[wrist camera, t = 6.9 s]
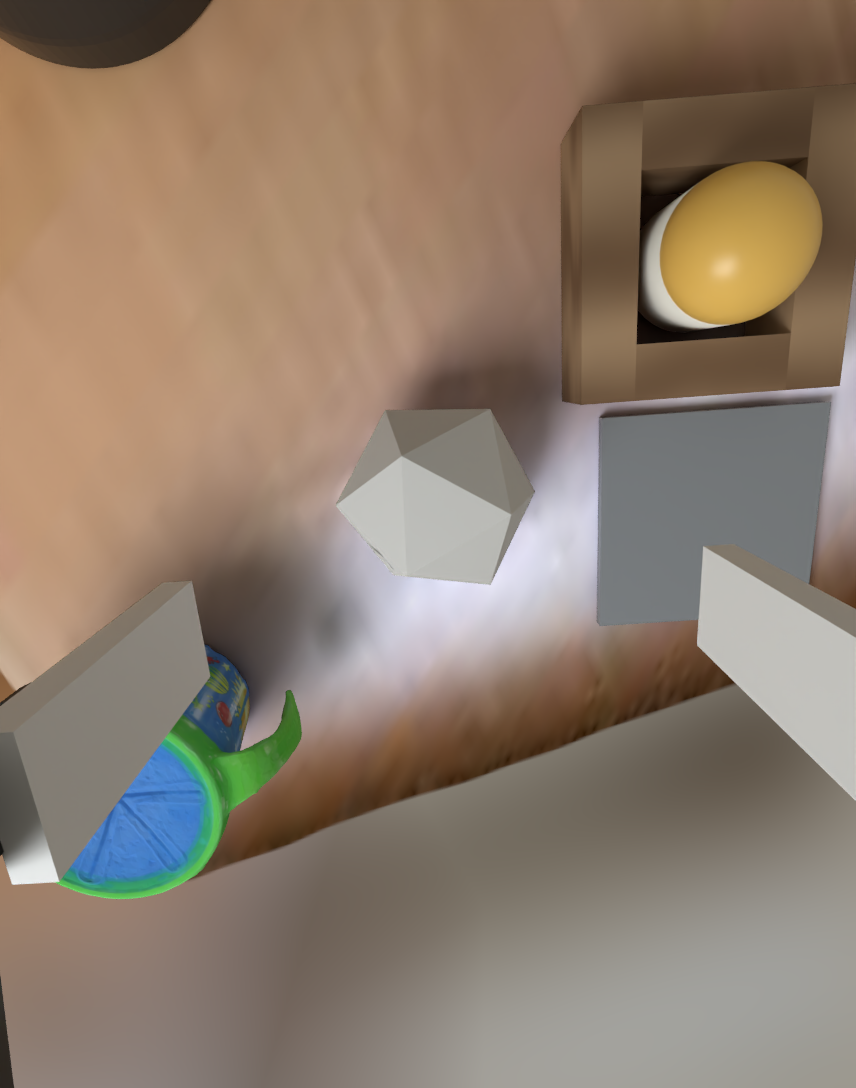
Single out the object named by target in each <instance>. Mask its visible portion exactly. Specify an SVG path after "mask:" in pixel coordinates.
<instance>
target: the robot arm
mask: <svg viewBox="0 0 856 1088" xmlns="http://www.w3.org/2000/svg"><path fill="white" fill-rule="evenodd" d="M209 1H210V0H0V38H1V39H3V40H4V41H6V42H8V43H9V44H11V45H13V46H14V47H16V48H18V49H20V50H22V51H24V52H26V53H28V54H30V55H33V56H35V57H38V58H40V59H43V60H46V61H49V62H52V63H56V64H60V65H65V66H70V67H78V68H108V67H116V66H120V65H125V64H129V63H132V62H135V61H138V60H141V59H143V58H145V57H148V56H150V55H152V54H154V53H156V52H157V51H159V50H161V49H163V48H164V47H166V46H167V45H169V44H170V43H172V42H173V41H174V40H175V39H177V38H178V37H179V36H180V35H181V34H182V33H184V32H185V31H186V30H187V29H188V28H189V27H190V26H191V25H192V23H193V22H194V21H195V20H196V19H197V18H198V17H199V15H200V14H201V13H202V11H203V10H204V9H205V7H206V6H207V4H208V3H209ZM697 646H698V647H699V648H701V649H702V650H703V651H704V652H705V653H706V654H707V655H708V656H709V657H710V658H711V659H712V660H713V661H714V662H715V663H716V664H717V665H718V666H719V667H720V668H721V669H722V670H723V671H724V672H725V673H726V674H727V675H728V676H729V677H730V678H731V679H732V680H733V681H734V682H735V683H736V684H737V685H738V686H739V687H740V688H741V689H742V690H743V691H744V692H745V693H746V694H747V695H748V696H749V697H751V698H752V699H753V700H754V701H755V702H756V703H757V704H758V705H759V706H760V707H761V708H762V709H763V710H764V711H765V712H766V713H767V714H768V715H769V716H770V717H771V718H772V719H773V720H774V721H775V722H776V723H777V724H778V725H779V726H780V727H781V728H782V729H783V730H784V731H785V732H786V733H787V734H788V735H789V736H790V737H791V738H792V739H793V740H794V741H795V742H796V743H797V744H798V745H799V746H800V747H801V748H802V749H803V750H804V751H805V752H806V753H808V754H809V755H810V756H811V757H812V758H813V759H814V760H815V761H816V762H817V763H818V764H819V765H820V766H821V767H822V768H823V769H824V770H825V771H826V772H827V773H828V774H829V775H830V776H831V777H832V778H833V779H834V780H835V781H836V782H837V783H838V784H839V785H840V786H841V787H842V788H843V789H844V790H845V791H846V792H847V793H848V794H849V795H850V796H851V797H852V798H853V799H854V800H855V801H856V609H854V608H852V607H851V606H849V605H847V604H845V603H843V602H841V601H839V600H837V599H836V598H834V597H832V596H830V595H828V594H826V593H824V592H822V591H821V590H819V589H817V588H815V587H813V586H811V585H809V584H807V583H806V582H804V581H802V580H800V579H798V578H796V577H794V576H792V575H791V574H789V573H787V572H785V571H783V570H781V569H779V568H777V567H776V566H774V565H772V564H770V563H768V562H766V561H764V560H762V559H761V558H759V557H757V556H755V555H753V554H751V553H749V552H747V551H746V550H744V549H742V548H740V547H738V546H736V545H734V544H728V545H713V546H703V559H702V575H701V591H700V606H699V622H698V638H697ZM209 678H210V672H209V667H208V661H207V656H206V651H205V646H204V641H203V636H202V631H201V625H200V620H199V615H198V610H197V605H196V600H195V595H194V589H193V584H192V581H180V582H166V583H161V584H160V585H159V586H158V587H156V588H155V589H154V590H152V591H151V592H150V593H148V594H147V595H146V596H144V597H143V598H142V599H140V600H139V601H138V602H136V603H135V604H134V605H133V606H131V607H130V608H129V609H127V610H126V611H125V612H123V613H122V614H121V615H119V616H118V617H117V618H115V619H114V620H113V621H112V622H110V623H109V624H108V625H106V626H105V627H104V628H102V629H101V630H100V631H98V632H97V633H96V634H94V635H93V636H92V637H91V638H89V639H88V640H87V641H85V642H84V643H83V644H81V645H80V646H79V647H77V648H76V649H75V650H73V651H72V652H71V653H69V654H68V655H67V656H66V657H64V658H63V659H62V660H60V661H59V662H58V663H56V664H55V665H54V666H52V667H51V668H50V669H48V670H47V671H46V672H45V673H43V674H42V675H41V676H39V677H38V678H37V679H35V680H34V681H33V682H31V683H29V684H27V685H25V686H23V687H21V688H19V689H18V690H17V691H15V692H14V693H13V694H11V695H10V696H9V697H7V698H6V699H5V700H3V701H2V702H1V703H0V856H1V855H3V858H4V861H5V864H6V867H7V870H8V873H9V876H10V879H11V882H12V884H31V883H47V882H60V880H61V879H62V878H63V876H64V875H65V873H66V872H67V871H68V869H69V868H70V867H71V865H72V864H73V863H74V861H75V860H76V859H77V857H78V856H79V854H80V853H81V852H82V850H83V849H84V848H85V846H86V845H87V844H88V842H89V841H90V839H91V838H92V837H93V835H94V834H95V833H96V831H97V830H98V829H99V827H100V826H101V825H102V823H103V822H104V820H105V819H106V818H107V816H108V815H109V814H110V812H111V811H112V810H113V808H114V807H115V805H116V804H117V803H118V801H119V800H120V799H121V797H122V796H123V795H124V793H125V792H126V791H127V789H128V788H129V786H130V785H131V784H132V782H133V781H134V780H135V778H136V777H137V776H138V774H139V773H140V771H141V770H142V769H143V767H144V766H145V765H146V763H147V762H148V761H149V759H150V758H151V757H152V755H153V754H154V752H155V751H156V750H157V748H158V747H159V746H160V744H161V743H162V742H163V740H164V739H165V737H166V736H167V735H168V733H169V732H170V731H171V729H172V728H173V727H174V725H175V724H176V723H177V721H178V720H179V718H180V717H181V716H182V714H183V713H184V712H185V710H186V709H187V708H188V706H189V705H190V703H191V702H192V701H193V699H194V698H195V697H196V695H197V694H198V693H199V691H200V690H201V689H202V687H203V686H204V684H205V683H206V682H207V680H208V679H209ZM0 1088H14V1084H13V1077H12V1068H11V1060H10V1051H9V1044H8V1036H7V1027H6V1020H5V1011H4V1002H3V994H2V986H1V978H0Z"/></svg>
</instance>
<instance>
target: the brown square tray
mask: <svg viewBox="0 0 856 1088" xmlns="http://www.w3.org/2000/svg"><path fill="white" fill-rule="evenodd" d="M750 161H766V162H773V163H777V164H780V165H783V166H785V167H787V168H789V169H791V170H793V171H795V172H797V173H798V174H799V175H801V176H802V177H803V178H804V179H805V180H806V181H807V182H808V183H809V185H810V186H811V188H812V189H813V191H814V193H815V194H816V196H817V199H818V202H819V205H820V208H821V213H822V224H823V226H822V238H821V244H820V247H819V251H818V254H817V256H816V259H815V261H814V263H813V265H812V267H811V269H810V271H809V273H808V274H807V276H806V277H805V279H804V280H803V282H802V283H801V284H800V285H799V287H798V288H797V289H796V290H795V291H794V292H793V293H792V294H791V295H790V296H789V297H788V298H787V299H786V300H785V301H784V302H782V303H781V304H779V305H778V306H777V307H775V308H774V309H772V310H770V311H769V312H767V313H765V314H763V315H761V316H759V317H757V318H754V319H752V320H748V321H746V325H745V337H732V338H719V339H705V340H692V341H678V342H665V343H651V344H638V345H636V343H637V308H638V273H639V238H640V203H641V196H650V195H663V194H676V193H685V192H686V191H688V190H689V189H691V188H692V187H693V186H695V185H696V184H697V183H699V182H700V181H702V180H703V179H705V178H706V177H708V176H710V175H711V174H713V173H715V172H717V171H719V170H721V169H723V168H725V167H728V166H732V165H735V164H739V163H743V162H750ZM855 258H856V83H854V84H842V85H830V86H818V87H806V88H793V89H781V90H769V91H757V92H745V93H732V94H720V95H708V96H696V97H684V98H672V99H659V100H647V101H635V102H623V103H611V104H599V105H586V106H582V107H581V109H580V111H579V113H578V115H577V116H576V118H575V120H574V122H573V123H572V125H571V127H570V129H569V130H568V132H567V134H566V136H565V137H564V139H563V141H562V143H561V277H562V401H563V402H569V403H575V404H580V405H584V404H598V403H612V402H626V401H639V400H653V399H667V398H681V397H695V396H708V395H722V394H736V393H750V392H764V391H777V390H791V389H805V388H819V387H833V386H840V379H841V371H842V363H843V355H844V347H845V339H846V331H847V323H848V315H849V306H850V298H851V290H852V282H853V274H854V266H855Z"/></svg>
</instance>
